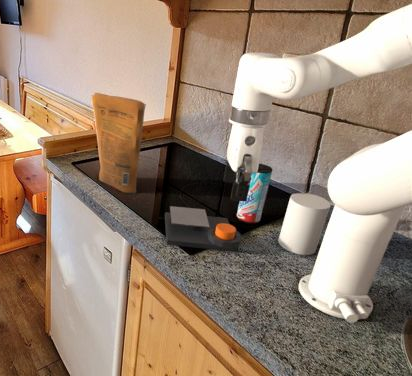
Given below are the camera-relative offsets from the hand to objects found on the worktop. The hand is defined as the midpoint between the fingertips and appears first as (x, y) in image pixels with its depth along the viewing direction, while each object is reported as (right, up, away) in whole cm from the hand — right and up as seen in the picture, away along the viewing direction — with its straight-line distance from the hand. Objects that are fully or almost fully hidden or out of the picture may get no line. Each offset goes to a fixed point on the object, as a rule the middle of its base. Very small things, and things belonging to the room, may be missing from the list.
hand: (233, 190), depth 91 cm
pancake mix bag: (-24, +1, +36) cm, 43 cm away
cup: (+18, -13, +7) cm, 23 cm away
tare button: (0, -11, +5) cm, 12 cm away
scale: (-5, -11, +10) cm, 16 cm away
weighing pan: (-7, -7, +12) cm, 15 cm away
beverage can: (+10, -8, +18) cm, 22 cm away
